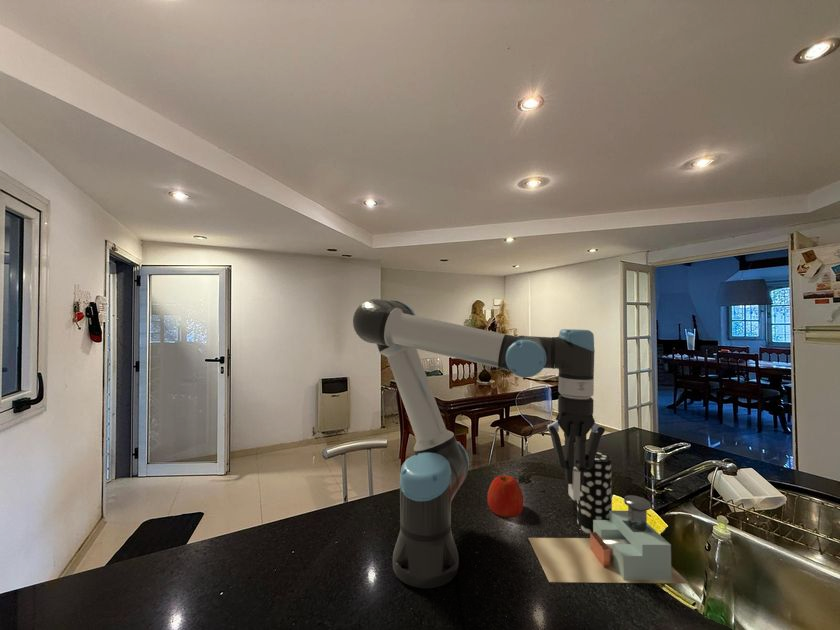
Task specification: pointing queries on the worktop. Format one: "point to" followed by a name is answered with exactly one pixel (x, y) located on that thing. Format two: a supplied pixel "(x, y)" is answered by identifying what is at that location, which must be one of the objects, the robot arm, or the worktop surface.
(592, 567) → the base board
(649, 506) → the plunger
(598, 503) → the white-spotted black cylinder
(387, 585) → the worktop surface
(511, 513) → the apple
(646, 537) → the block
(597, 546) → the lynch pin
